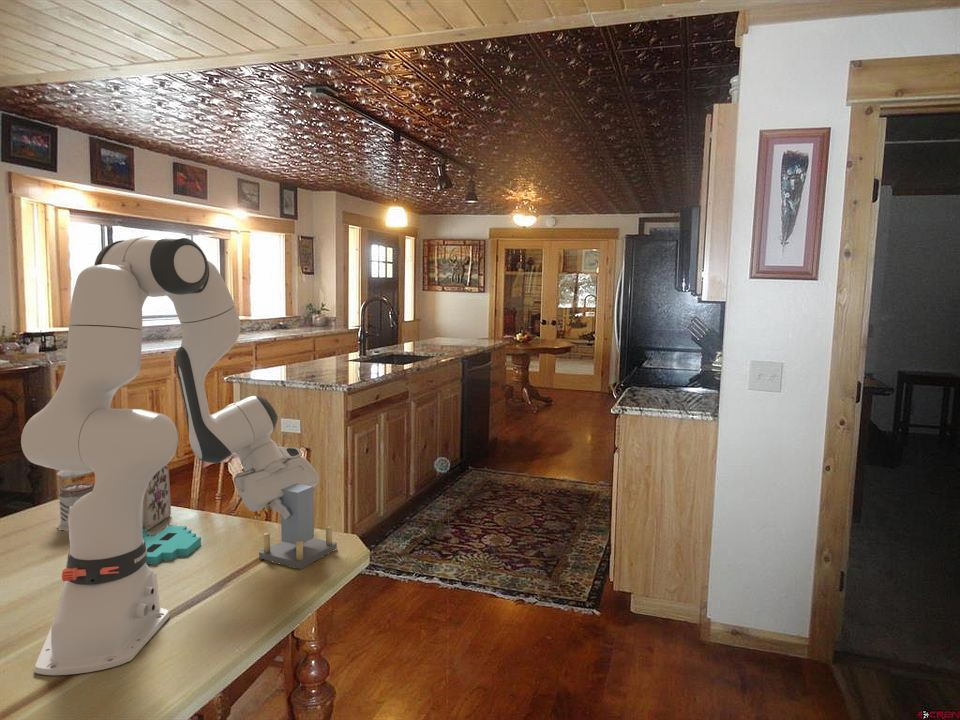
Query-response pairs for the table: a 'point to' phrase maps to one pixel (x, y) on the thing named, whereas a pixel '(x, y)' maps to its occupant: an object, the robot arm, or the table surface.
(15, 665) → the table surface
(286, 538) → the slate block
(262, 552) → the grey peg base
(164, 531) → the alien figure
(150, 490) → the decorative jar
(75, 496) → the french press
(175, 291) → the robot arm
